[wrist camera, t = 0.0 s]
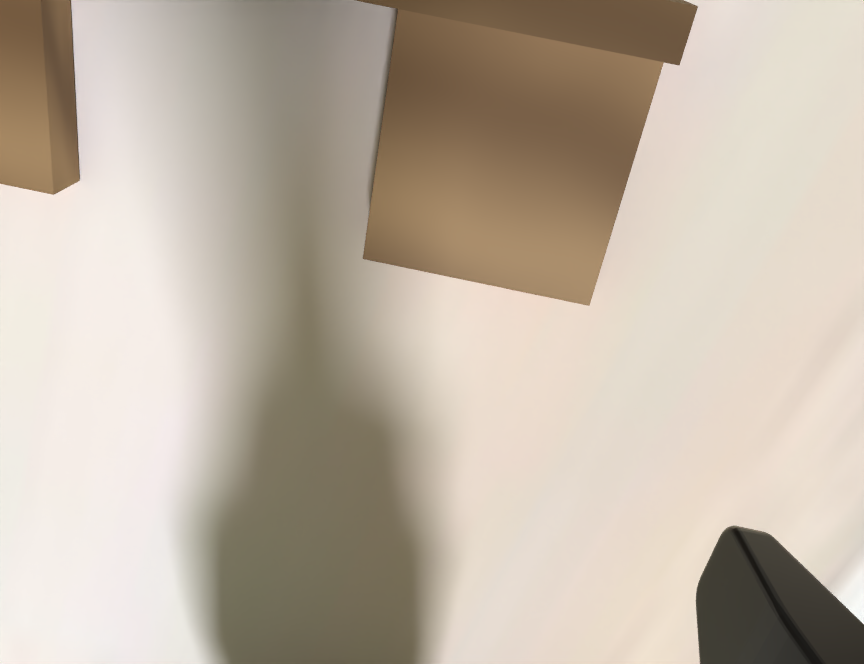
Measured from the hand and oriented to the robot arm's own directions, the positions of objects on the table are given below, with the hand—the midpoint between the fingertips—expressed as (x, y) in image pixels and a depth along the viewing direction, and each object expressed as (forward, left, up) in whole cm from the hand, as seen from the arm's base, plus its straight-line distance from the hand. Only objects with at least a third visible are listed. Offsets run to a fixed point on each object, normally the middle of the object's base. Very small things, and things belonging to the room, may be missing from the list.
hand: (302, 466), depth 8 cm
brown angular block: (+1, +4, -15) cm, 15 cm away
